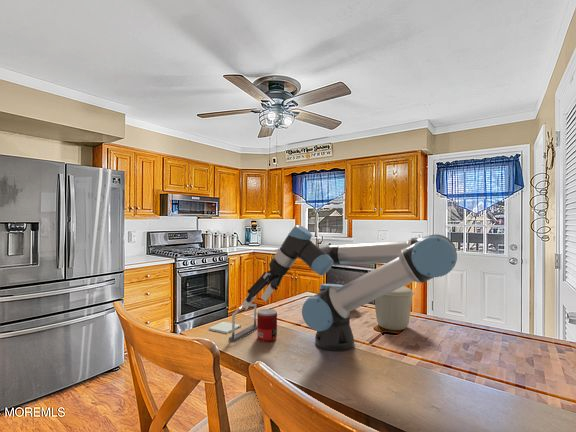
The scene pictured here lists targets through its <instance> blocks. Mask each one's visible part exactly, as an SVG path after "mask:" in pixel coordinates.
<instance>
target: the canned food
mask: <svg viewBox="0 0 576 432" xmlns="http://www.w3.org/2000/svg"><path fill="white" fill-rule="evenodd" d="M256 325H257V329H256V330H257V331H256V332H257V334H256V335H257V336H256V337H257V339H258V340H259V341H260V342H264V343H267V342H270V343H271V342H274V341H276V340H277V337H278V310H275V309H272V308H263V309H259V310H258V311H257V312H256Z"/></svg>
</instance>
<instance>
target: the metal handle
mask: <svg viewBox="0 0 576 432" xmlns="http://www.w3.org/2000/svg"><path fill="white" fill-rule="evenodd" d="M257 306H258V305H257V303H251V305H250V306H249V307H252V308H253V324H252V325H249V326H248V327H245V328H243V329H242V330H241V331H238V332H237V333H236V332H235V324H236V323H235V319H236V318H235V317H236V315H238V313H239V312H241V311H242V310H243V309H245V308H244V307H243V306H242V305H240V306H239V307H238V308H237V309H236V310H235V311H233V312H232V313H231V323H232V332H231V336H229V337H228V341H229V340H230V341H229V342H233V341H234V343H235V342H237V341H239V340H241V339H242V338H245V337H246V336H248V335H249V334H251V333H253V332H254V330H255V329H256V330H257ZM256 330H255V331H256ZM252 331H253V332H252ZM250 332H251V333H250ZM248 333H249V334H248ZM247 334H248V335H247ZM245 335H246V336H245ZM240 338H241V339H240Z"/></svg>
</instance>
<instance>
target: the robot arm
mask: <svg viewBox="0 0 576 432" xmlns="http://www.w3.org/2000/svg"><path fill="white" fill-rule="evenodd" d="M312 237H313V236H312V233H311V231H310V230H309V229H308V228H306V227H304V226H303V225H300V224H298V225H294V227H293V228H292V229H291V230H290V231H289V233H288V234H287V236H286V237H285V239H284V241H283V242H282V244H281V246H280V247H278V248H277V252H275V254H274V256H273V257H272V258H271V260H270V262H269V264H268V265H269V270H268V271H267V272H266V271H264V272H263V273H262V274H261V276H260V277H259V278H258V279H257V280H256V281H255V283H253V285H252V286H251V287H250V288H249V289H247V293H248V294H247V296H246V297H245V299H244V301H243V302H242V303H241V306H243V307H244V308H243V309H245V310H246V311H247V310H248V309H249V308H250V307H251V306H250V305H251V304H253V301H254V300H255V299H256V297H257V295H258V294H259V293H260V292H261V291H262V290H263V289H264V288H265V287H266V289H265V290H264V292H263V293H262V294H261V296H260V298H261V299H262V300H263V301H264V302H267V300H268V299H269V298H270V296H271V295H272V293H273V292H274V291H277V290H278V289H279V288H278V287H280V284H281V282H282V279H283V277H284V276H286V275H287V273H288V272H289V270H290V268H291V267H292V266H293V265H294V263H295V262H296V260H297V259H300V260H301V261H302V262H303V263H305V264H306V266H308V268H310V269H311V271H313V272H314V273H316V274H317V275H319V276H324V275H326V274H327V273H328V272H329V271H330V270H331V268H332V267H333V266H334V265H335V266H336V265H364V264H365V265H369V264H370V265H371V264H373V265H375V264H377V265H378V264H383V265H380V266H379V267H376V268H375V269H372V270H371V271H369V272H367V273H364V274H363V275H361V276H358V277H357V278H355V279H353V280H351V281H349V282H347V283H345V284H337V283H336V284H335V283H321V284H320V286H319V292H318V293H316V294H314V295H312V296H310V297H308V298H307V299H306V300H305V301H304V303H303V304H302V309H301V316H302V319H303V321H304V323H305V324H306V325H307V327H309V328H310V329H312V330H313V331H316V333H315V336H314V337H315V338H314V339H315V340H314V343H315V345H316V346H317V347H318V348H320V349H324V350H327V351H332V352H333V351H334V352H339V351H341V352H342V351H347V350H351V349H352V348H354V346H355V338H354V334H353V331H352V328H351V323H350V322H351V321H350V317H351V311H353V310H356V309H358V308H360V307H362V306H364V305H367V304H369V303H370V302H373V301H375V299H377V298H379V297H381V296H384V295H386V294H388V293H390V292H392V291H394V290H396V289H398V288H401V287H403V286H404V287H406V285H409V284H411V283H413V282H416V283H419V284H423V283H425V282H428V281H430V280H431V279H435V278H440V277H444V276H446V275H448V274H449V273H451V271H452V270H453V269H454V268H455V267H456V263H457V261H458V253H457V249H456V245H455V244H454V242H453V241H452V240H451V239H450V238H448V237H447V236H445V235H441V234H435V233H434V234H429V235H426V236H419V237H411V238H409V240H408V241H407V240H405V241H387V242H373V243H372V242H370V243H369V242H368V243H353V244H352V243H349V244H335V245H334V244H327V245H324V246H320V247H318V245H316V244H315V243H314V242H313V241H312V240H311V238H312Z"/></svg>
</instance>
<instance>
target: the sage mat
mask: <svg viewBox="0 0 576 432" xmlns="http://www.w3.org/2000/svg"><path fill="white" fill-rule="evenodd" d="M240 326H241V327H242V324H238V323H235V329H236V330H237V329H239V328H241V327H240ZM238 327H239V328H238ZM208 330H209V331H213V332H217V333H223V334H226V333H228V334H230V333H232V332H231V331H232V322H228V321H222V322H219V323H217V324H215V325H212V326H210V327H209V328H208ZM229 332H230V333H229Z"/></svg>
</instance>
